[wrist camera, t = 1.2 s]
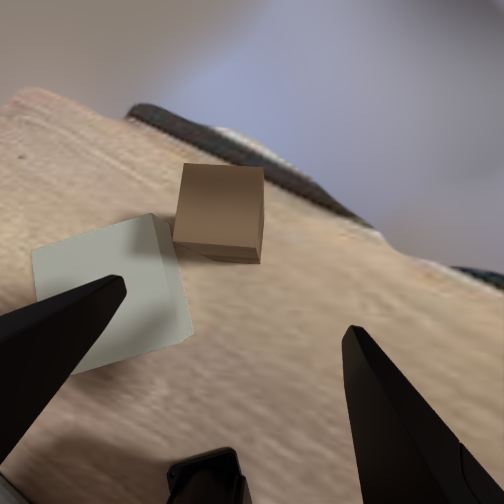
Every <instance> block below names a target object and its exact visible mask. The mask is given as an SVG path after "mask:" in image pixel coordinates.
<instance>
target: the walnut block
mask: <svg viewBox="0 0 504 504" xmlns="http://www.w3.org/2000/svg"><path fill="white" fill-rule="evenodd" d="M263 227H264V172H263V167H247V166H228V165H209V164H190V163H184V166H183V173H182V180H181V186H180V193H179V199H178V206H177V213H176V219H175V226H174V232H173V239H172V241H173V242H175V243H178V244H180V245H182V246H184V247H186V248H188V249H191V250H193V251H195V252H197V253H199V254H201V255H203V256H206V257H208V258H210V259H212V260H219V261H230V262H241V263H253V264H260V261H261V249H262V238H263Z"/></svg>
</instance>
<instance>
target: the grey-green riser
mask: <svg viewBox="0 0 504 504" xmlns="http://www.w3.org/2000/svg"><path fill="white" fill-rule="evenodd" d="M31 256H32V264H33V272H34V280H35V288H36V297H37V302H39V301H41V300H44V299H47V298H49V297H52V296H55V295H57V294H60V293H63V292H65V291H68V290H71V289H73V288H76V287H79V286H81V285H84V284H86V283H89V282H92V281H94V280H97V279H100V278H102V277H105V276H108V275H111V274H114V275H119V276H122V277H123V278H124V282H125V285H126V289H127V295H126V297H125V299H124V300H123V302H122V303H121V305H120V307H119V308H118V310H117V311H116V313H115V315H114V316H113V318H112V319H111V321H110V322H109V324H108V326H107V327H106V329H105V330H104V331H103V333H102V334H101V335H100V337H99V338H98V339H97V341H96V342H95V343H94V345H93V346H92V347H91V348H90V350H89V351H88V352H87V354H86V355H85V356H84V358H83V359H82V360H81V361H80V363H79V364H78V365H77V367H76V368H75V369H74V370H73V372H72V373H71V374H70V376H71V375H74V374H78V373H81V372H84V371H88V370H91V369H94V368H98V367H101V366H104V365H108V364H111V363H114V362H118V361H121V360H124V359H128V358H131V357H134V356H138V355H141V354H145V353H148V352H151V351H155V350H158V349H161V348H165V347H168V346H171V345H175V344H178V343H181V342H182V341H184V340H185V339H187V338H188V337H190V336H191V335H192V334H194V333H195V332H194V328H193V324H192V320H191V315H190V311H189V307H188V303H187V299H186V294H185V290H184V286H183V282H182V278H181V273H180V269H179V265H178V261H177V257H176V253H175V248H174V244H173V241H172V236H171V232H170V227H169V224H168V223H167V222H165V221H163V220H162V219H160V218H159V217H157V216H155V215H154V214H152V213H149V214H146V215H142V216H139V217H136V218H133V219H129V220H126V221H123V222H120V223H117V224H113V225H110V226H107V227H104V228H100V229H97V230H94V231H91V232H88V233H84V234H81V235H78V236H75V237H71V238H68V239H65V240H62V241H59V242H55V243H52V244H49V245H46V246H42V247H39V248H36V249H33V250H31Z"/></svg>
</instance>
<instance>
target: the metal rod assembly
mask: <svg viewBox="0 0 504 504" xmlns="http://www.w3.org/2000/svg"><path fill="white" fill-rule="evenodd" d="M0 504H29V503H28V502H27V501H26V500H25V499H24V498H23V497H22V496H21V495H20V494H19V493H18V492H17V491H16V490H15V489H14V488H13V487H12V486H11V485H10V484H9V483H8V482H7V481H6V480H5V479H4V478H3V477H2V476H1V475H0Z"/></svg>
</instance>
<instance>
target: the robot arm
mask: <svg viewBox="0 0 504 504" xmlns="http://www.w3.org/2000/svg"><path fill="white" fill-rule="evenodd" d="M126 295H127V289H126V285H125V282H124V278H123V277H122V276H119V275H114V274H111V275H108V276H105V277H102V278H100V279H97V280H94V281H92V282H89V283H86V284H84V285H81V286H79V287H76V288H73V289H71V290H68V291H65V292H63V293H60V294H57V295H55V296H52V297H49V298H47V299H44V300H41V301H39V302H36V303H33V304H31V305H28V306H25V307H23V308H20V309H17V310H15V311H12V312H10V313H7V314H4V315H2V316H0V465H1V464H2V462H3V461H4V460H5V459H6V457H7V456H8V455H9V453H10V452H11V451H12V450H13V448H14V447H15V446H16V444H17V443H18V442H19V440H20V439H21V438H22V437H23V435H24V434H25V433H26V431H27V430H28V429H29V427H30V426H31V425H32V424H33V422H34V421H35V420H36V418H37V417H38V416H39V415H40V413H41V412H42V411H43V409H44V408H45V407H46V405H47V404H48V403H49V402H50V400H51V399H52V398H53V396H54V395H55V394H56V392H57V391H58V390H59V389H60V387H61V386H62V385H63V383H64V382H65V381H66V380H67V378H68V377H69V376H70V374H71V373H72V372H73V370H74V369H75V368H76V367H77V365H78V364H79V363H80V361H81V360H82V359H83V358H84V356H85V355H86V354H87V352H88V351H89V350H90V348H91V347H92V346H93V345H94V343H95V342H96V341H97V339H98V338H99V337H100V335H101V334H102V333H103V331H104V330H105V329H106V327H107V326H108V324H109V322H110V321H111V319H112V318H113V316H114V315H115V313H116V311H117V310H118V308H119V307H120V305H121V303H122V302H123V300H124V299H125V297H126ZM342 359H343V377H344V389H345V396H346V402H347V408H348V414H349V420H350V426H351V432H352V438H353V444H354V450H355V456H356V462H357V468H358V474H359V480H360V486H361V492H362V498H363V504H504V491H503V490H502V488H501V487H500V486H499V485H498V484H497V483H496V482H495V481H494V479H493V478H492V477H491V476H490V475H489V474H488V473H487V471H486V470H485V469H484V468H483V467H482V466H481V465H480V463H479V462H478V461H477V460H476V459H475V458H474V456H473V455H472V454H471V453H470V452H469V451H468V449H467V448H466V447H465V446H464V445H463V444H462V443H460V442H459V439H458V438H457V437H456V436H455V434H454V433H453V432H452V431H451V430H450V429H449V427H448V426H447V425H446V424H445V423H444V422H443V420H442V419H441V418H440V417H439V416H438V415H437V413H436V412H435V411H434V410H433V409H432V407H431V406H430V405H429V404H428V403H427V402H426V400H425V399H424V398H423V397H422V396H421V395H420V393H419V392H418V391H417V390H416V389H415V388H414V386H413V385H412V384H411V383H410V382H409V381H408V379H407V378H406V377H405V376H404V375H403V374H402V372H401V371H400V370H399V369H398V368H397V367H396V365H395V364H394V363H393V362H392V361H391V360H390V358H389V357H388V356H387V355H386V354H385V353H384V351H383V350H382V349H381V348H380V347H379V345H378V344H377V343H376V342H375V341H374V340H373V338H372V337H371V336H370V335H369V334H368V333H367V331H366V330H365V329H364V328H363V327H360V326H355V325H350V326H349V328H348V329H347V331H346V333H345V335H344V337H343V339H342ZM230 455H231V456H233V458H230V457H229V456H230ZM172 472H173V473H174V474H175V475H173V474H172ZM167 480H168V485H169V490H170V496H169V499H168V501H167V503H166V504H252V500H251V496H250V492H249V488H248V484H247V480H246V477H245V476H244V475H242V474H241V469H240V465H239V461H238V457H237V453H236V451H235V450H234V449H228V450H225V451H221V452H218V453H214V454H211V455H207V456H204V457H201V458H197V459H194V460H190V461H187V462H183V463H180V464H176V465H173V466H171V467H170V469H169V470H168V473H167Z"/></svg>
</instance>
